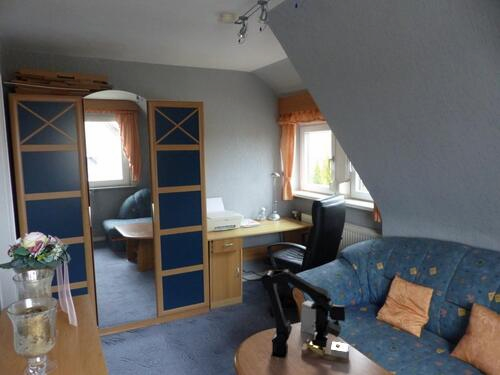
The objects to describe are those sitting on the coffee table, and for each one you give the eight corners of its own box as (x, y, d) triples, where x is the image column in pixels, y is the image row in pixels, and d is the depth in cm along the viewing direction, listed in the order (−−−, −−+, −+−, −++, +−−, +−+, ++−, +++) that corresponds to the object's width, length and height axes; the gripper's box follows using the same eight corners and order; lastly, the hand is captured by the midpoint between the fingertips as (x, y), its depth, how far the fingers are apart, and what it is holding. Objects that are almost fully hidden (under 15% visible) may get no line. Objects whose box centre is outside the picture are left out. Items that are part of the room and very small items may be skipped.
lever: (303, 346, 173) (304, 340, 172) (307, 344, 174) (307, 338, 174) (321, 356, 164) (322, 350, 164) (325, 354, 166) (325, 348, 166)
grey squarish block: (331, 355, 166) (331, 347, 166) (332, 347, 172) (332, 340, 172) (347, 358, 164) (347, 350, 163) (348, 350, 170) (348, 343, 169)
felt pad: (318, 349, 176) (318, 349, 176) (320, 342, 182) (320, 341, 182) (335, 352, 173) (335, 352, 173) (337, 345, 180) (337, 344, 180)
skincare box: (300, 330, 194) (300, 303, 192) (306, 326, 199) (306, 299, 197) (314, 335, 189) (315, 307, 187) (320, 331, 194) (320, 303, 192)
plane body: (301, 355, 171) (301, 349, 171) (303, 349, 176) (303, 343, 176) (348, 364, 164) (348, 357, 164) (348, 357, 170) (349, 351, 169)
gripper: (338, 332, 154) (337, 365, 157) (341, 309, 172) (340, 339, 175) (311, 328, 158) (311, 360, 161) (317, 306, 175) (317, 335, 178)
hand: (321, 348), depth 168 cm, fingers closed, pressing on lever
